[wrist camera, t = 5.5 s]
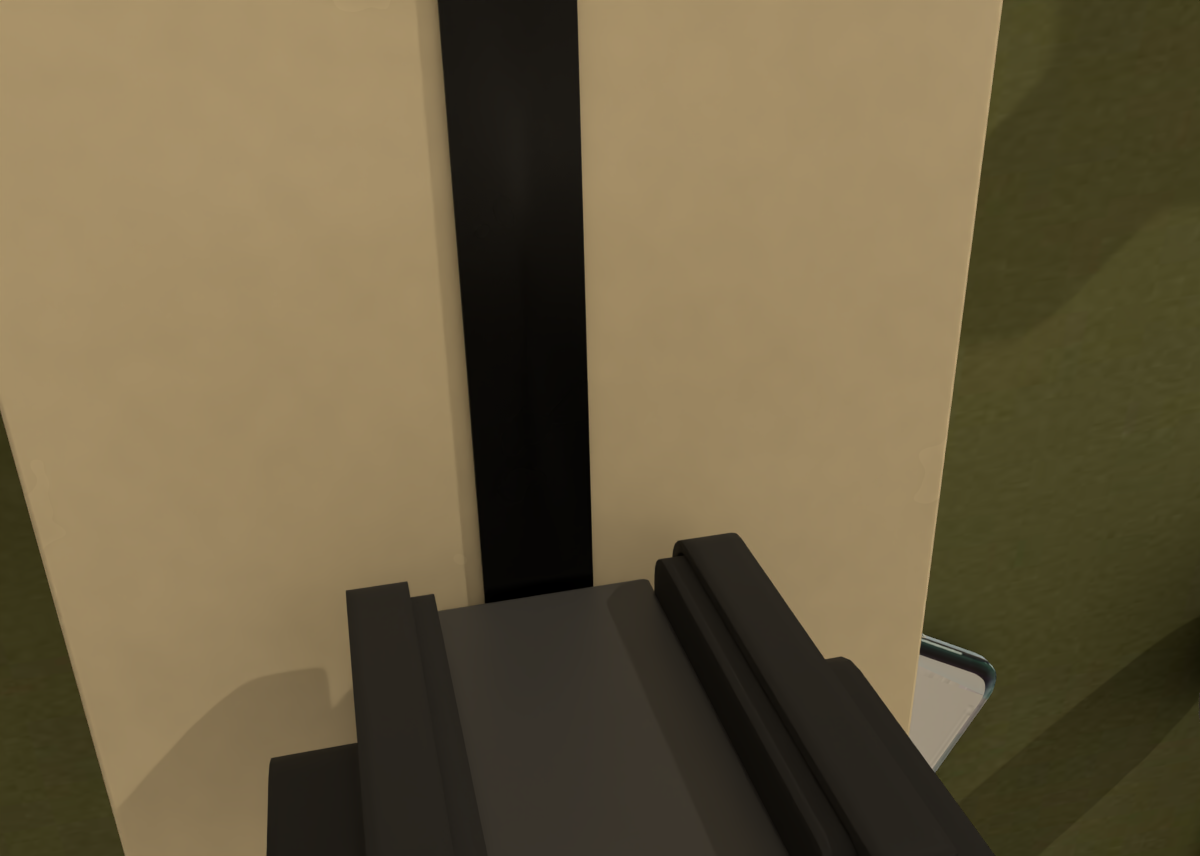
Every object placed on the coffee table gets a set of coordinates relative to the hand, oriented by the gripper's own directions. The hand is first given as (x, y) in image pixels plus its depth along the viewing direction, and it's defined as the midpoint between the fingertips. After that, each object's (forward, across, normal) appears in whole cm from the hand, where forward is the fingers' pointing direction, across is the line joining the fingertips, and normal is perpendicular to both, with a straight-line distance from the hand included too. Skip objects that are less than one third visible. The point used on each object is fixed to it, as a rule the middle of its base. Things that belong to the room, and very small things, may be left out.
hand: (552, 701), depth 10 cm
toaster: (+8, 0, -3) cm, 9 cm away
